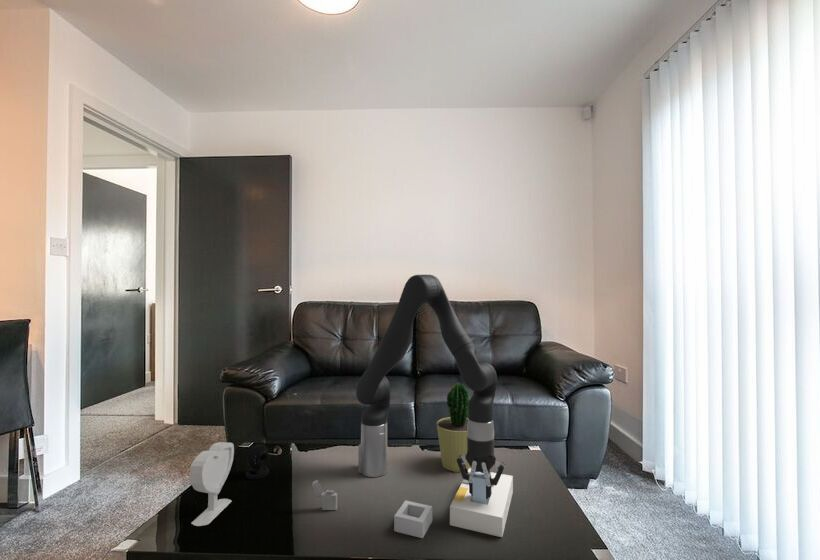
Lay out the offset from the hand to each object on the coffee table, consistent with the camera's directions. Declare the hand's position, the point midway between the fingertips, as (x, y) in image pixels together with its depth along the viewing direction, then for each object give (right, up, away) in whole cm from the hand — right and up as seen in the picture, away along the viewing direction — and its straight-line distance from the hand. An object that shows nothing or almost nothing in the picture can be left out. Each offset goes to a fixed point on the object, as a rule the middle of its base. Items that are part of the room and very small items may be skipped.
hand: (480, 496), depth 109 cm
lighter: (-45, -6, +3) cm, 45 cm away
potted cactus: (-3, -7, +32) cm, 33 cm away
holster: (-19, -5, -5) cm, 20 cm away
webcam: (-72, -6, +24) cm, 76 cm away
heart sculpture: (-77, -6, +2) cm, 77 cm away
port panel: (+2, -6, +4) cm, 8 cm away
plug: (0, -4, 0) cm, 4 cm away
